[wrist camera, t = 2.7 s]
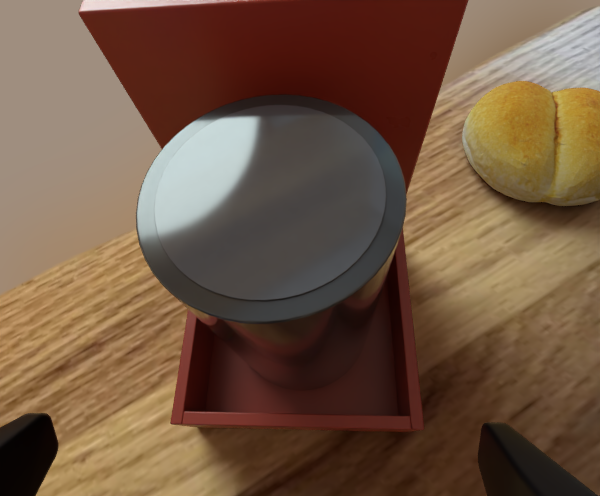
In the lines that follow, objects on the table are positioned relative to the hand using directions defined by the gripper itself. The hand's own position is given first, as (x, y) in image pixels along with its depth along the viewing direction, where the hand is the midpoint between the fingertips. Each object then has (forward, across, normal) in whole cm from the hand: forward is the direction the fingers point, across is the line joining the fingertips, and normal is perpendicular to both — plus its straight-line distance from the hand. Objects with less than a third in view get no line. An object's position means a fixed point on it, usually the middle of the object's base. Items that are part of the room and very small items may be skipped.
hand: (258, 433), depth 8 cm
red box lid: (+9, 0, -5) cm, 10 cm away
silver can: (+12, 0, +4) cm, 12 cm away
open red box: (+12, 0, +4) cm, 13 cm away
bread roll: (+20, -15, -3) cm, 25 cm away
